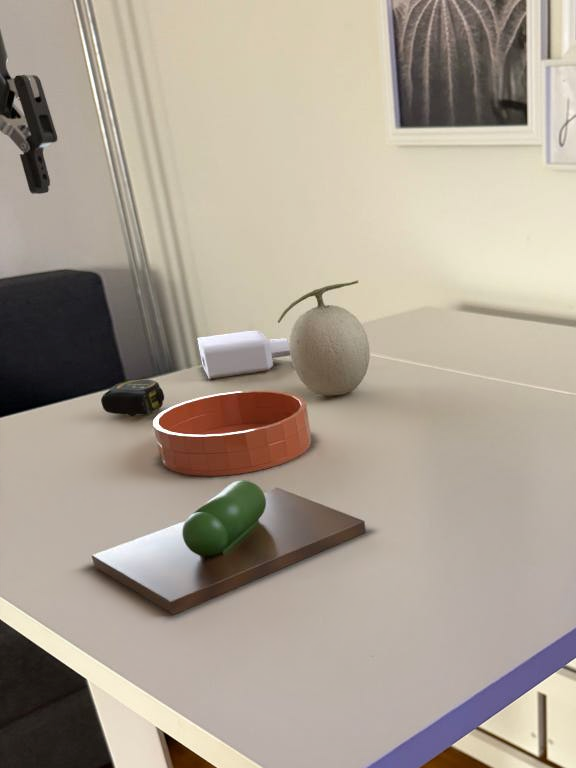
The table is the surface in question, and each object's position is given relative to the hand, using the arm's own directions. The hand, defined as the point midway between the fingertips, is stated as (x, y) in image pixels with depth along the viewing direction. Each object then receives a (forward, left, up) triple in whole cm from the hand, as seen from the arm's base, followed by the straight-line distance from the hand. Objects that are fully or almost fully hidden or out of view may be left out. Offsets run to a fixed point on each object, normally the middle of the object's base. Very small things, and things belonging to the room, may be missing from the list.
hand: (5, 194), depth 98 cm
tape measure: (+12, +8, -28) cm, 32 cm away
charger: (+36, +16, -28) cm, 48 cm away
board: (-4, -40, -28) cm, 49 cm away
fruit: (+33, -7, -28) cm, 44 cm away
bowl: (+12, -16, -28) cm, 34 cm away
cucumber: (-4, -40, -27) cm, 48 cm away
